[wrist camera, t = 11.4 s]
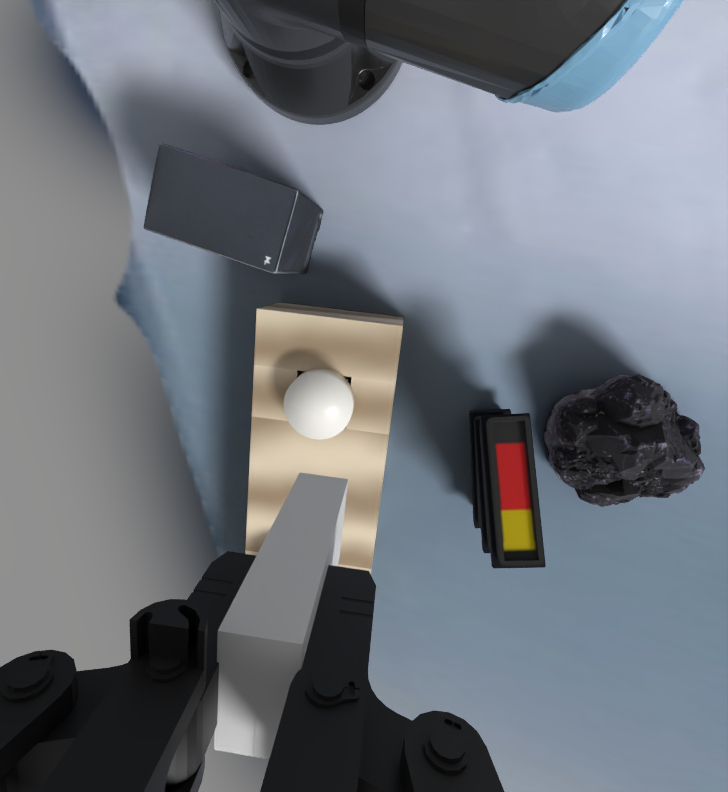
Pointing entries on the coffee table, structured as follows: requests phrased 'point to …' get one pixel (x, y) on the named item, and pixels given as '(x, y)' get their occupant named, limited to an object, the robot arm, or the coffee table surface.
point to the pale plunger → (319, 403)
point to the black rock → (623, 442)
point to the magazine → (506, 488)
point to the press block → (337, 456)
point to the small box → (231, 212)
